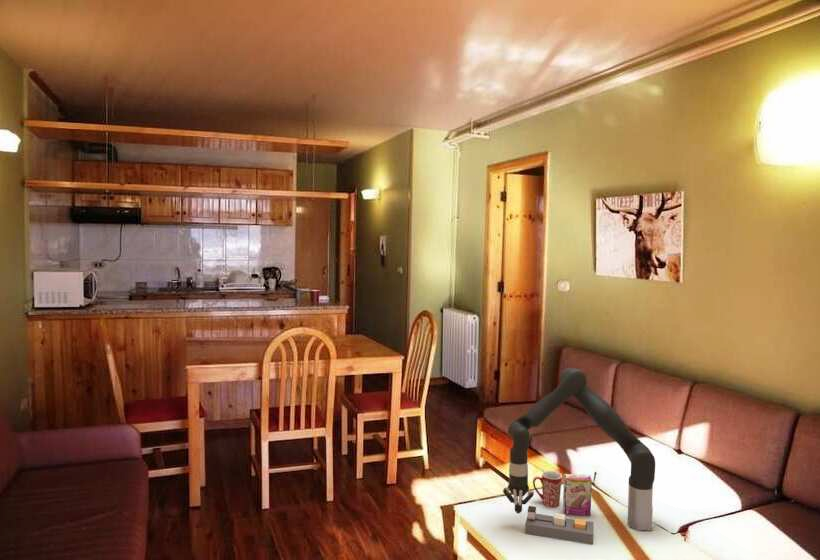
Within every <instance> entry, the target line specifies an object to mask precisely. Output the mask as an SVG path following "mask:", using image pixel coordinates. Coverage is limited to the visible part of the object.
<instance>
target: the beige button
mask: <svg viewBox="0 0 820 560" xmlns="http://www.w3.org/2000/svg"><path fill="white" fill-rule="evenodd" d="M553 514H554V515H553V516H554V525H557V526H563V527H565V518H566V514H564V513H557V512H555V513H553Z"/></svg>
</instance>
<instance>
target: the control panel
mask: <svg viewBox="0 0 820 560" xmlns="http://www.w3.org/2000/svg"><path fill="white" fill-rule="evenodd" d="M575 519H576V518H575ZM575 519H574V518H568V517H565V527H563V526H557V525H554V515H547V514H540V513H536V518H535V520H531V519H528V515H527V516H526V520H525V524H524V525H525V527H524V534H525V535H526V534H527V535H533V536H538V537H545V538H552V539H555V540H556V539H558V540H564V541H568V542H576V543H582V544H587V545H588V544H590V545H594V544H593V543H594V522H593V521H588V520H586V530H581V529H574V524H575Z"/></svg>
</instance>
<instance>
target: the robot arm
mask: <svg viewBox="0 0 820 560" xmlns="http://www.w3.org/2000/svg"><path fill="white" fill-rule="evenodd" d="M587 381H588V380H587V376H586V373H585V372H584V371H583V370H581V369H578V368H576V367H575V368H574V367H566V368H564V369H562V370H561V372H560V374H559V382H560V384H559V385H557V387H556V388H555V389H554V390H553V391H551V392H549V394H547V395H545V396H544V397H543V398H541V399H540V400H539V401H537V402H536V403H535V404H534V405H533V406H532V407H531V408H530V409H529V410H528V411H527V412H526V413H525V414H522V415H521V416H520V417H518V418H516V419H515V420H513V421H512V422H511V423H510V424H509V426H508V429H507V433H508V436H509V437H510V438H511V439H512V440H513V446H511V448H510V450H509V467H508V476H509V477H508V478H509V479H508V481H509V482H508V485H507V487H504V488H503V490H502V493H503V494H504V495H505V497H506V498H507V500H508V501H509V503H512V504H514V512H515V513H516V514H521V513H522V512H523V505H527V503H528V502H529V501H530V500H531V499H533V498H534V495H535V492H534V490H531V489H530V486H529V484H528V483H529V477H528V476H529V466H528V464H529V463H528V451H529V447H530V443H531V442H530V441H531V433H530V430H529V429H531V428H538V427H540V425H541V424H543V422H545V420H547V418H549V416H550V415H551V414H553V413H554V412H555V411H556V410H557V409H558V408H559V407H561V405H562V404H563V403H564V402H566V401H567V400H568V399H570V398H572V397H573V398H575V399H576V400H577V402H579V404H580V405H581V406H582V407H583V409H584V410H585V411H586V412H587V414H588V415H589V417H590V418H591V419H592V420H593V421H594V423H595V424H596V425H597V426H598V427H599V428H600V429H601V431H603V432H604V433H605V434H606V435H607V436H609V438H610V439H612V440H613V441H615V442H616V443H617V445H619V447H620V448H621V449H622V450H623V452H624V454H625V455H626V457H627V458H628V461H629V462H630V476H629V477H628V489H627V490H628V491H627V492H628V493H627V494H628V495H627V497H628V498H627V499H628V500H627V525H628V526H629V527H630V528H631V527H632V528H631V529H633V528H634V529H633V530H637V531H640V530H641V531H642V530H647V531H649V530H648V529H652V530H653V515H654V514H653V510H654V509H653V508H654V507H653V497H654V496H653V491H654V489H653V488H654V483H655V477H656V476H655V475H656V459H655V456H654V454H653V453H652V451H651V449H649V447H647V446H646V445H645V444H644V443H643V442H642V441H641V440H640V439H638V437H636V436H635V434H633V432H632V431H631V430H630V429H629V427H628V426H627V424H626V423H625V421H624V420H623V419H622V417H621V415H619V414H618V412H617V411H616V410H615V409H614V408H613V407H612V406H611V404H609V403H608V402H607V401H606V400H604V399H603V397H601V396H600V395H599V394H597V393H596V392H595V391H594V390H593V389H591V387H590V386H589V385H588V384H587V383H588V382H587ZM525 495H526V496H525ZM524 497H525V498H524ZM642 532H643V531H642Z"/></svg>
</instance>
